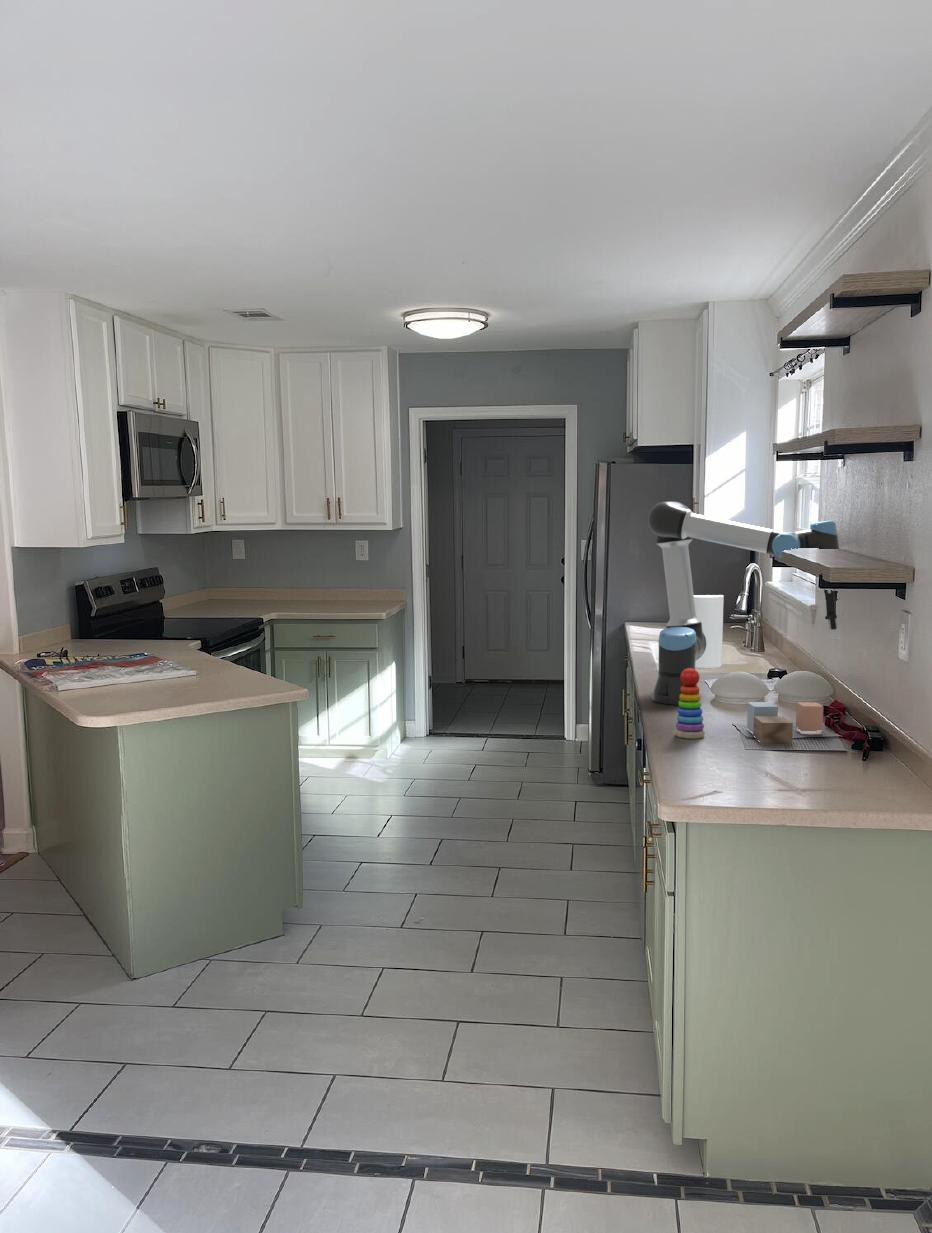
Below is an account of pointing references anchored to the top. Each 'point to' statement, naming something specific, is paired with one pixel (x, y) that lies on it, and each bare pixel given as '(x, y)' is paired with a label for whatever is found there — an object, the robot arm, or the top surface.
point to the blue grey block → (760, 711)
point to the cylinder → (710, 629)
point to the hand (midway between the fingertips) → (837, 637)
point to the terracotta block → (809, 716)
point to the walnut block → (773, 730)
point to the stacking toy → (689, 707)
